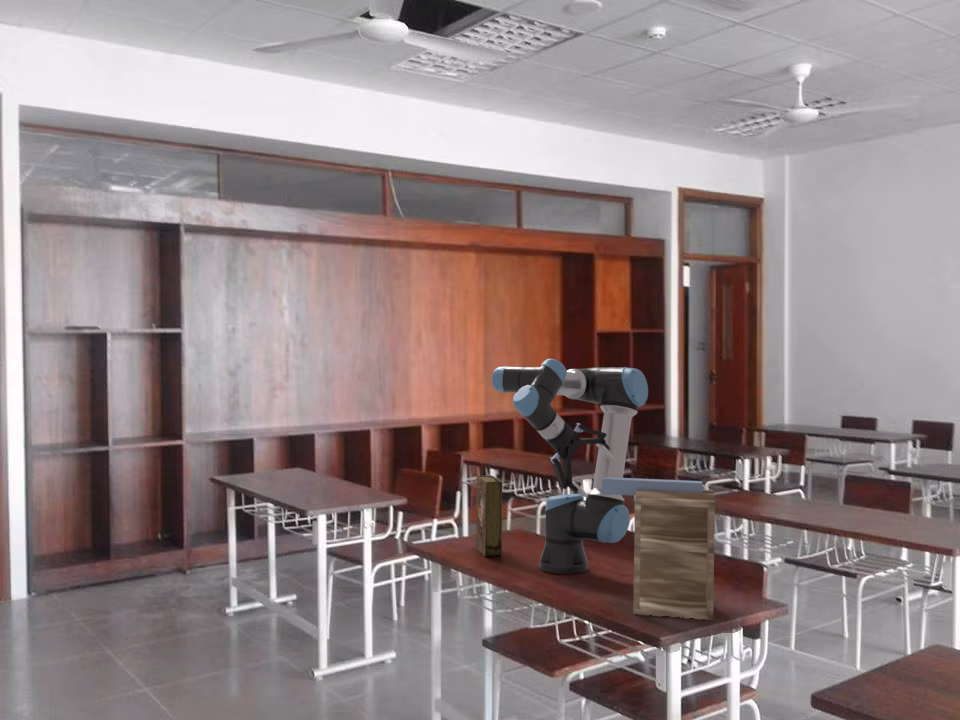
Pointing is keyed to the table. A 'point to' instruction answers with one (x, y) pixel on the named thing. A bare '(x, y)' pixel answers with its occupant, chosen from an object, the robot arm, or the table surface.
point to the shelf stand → (674, 554)
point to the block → (647, 485)
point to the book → (489, 515)
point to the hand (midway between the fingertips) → (598, 477)
